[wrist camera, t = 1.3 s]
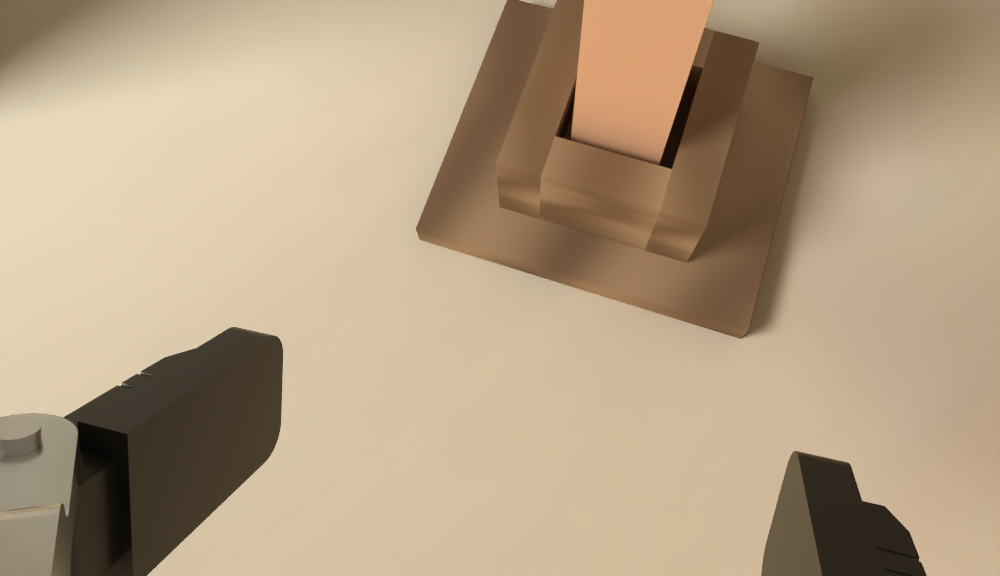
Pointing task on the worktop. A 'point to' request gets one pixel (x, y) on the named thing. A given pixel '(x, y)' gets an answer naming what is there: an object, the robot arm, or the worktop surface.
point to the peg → (634, 72)
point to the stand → (620, 175)
